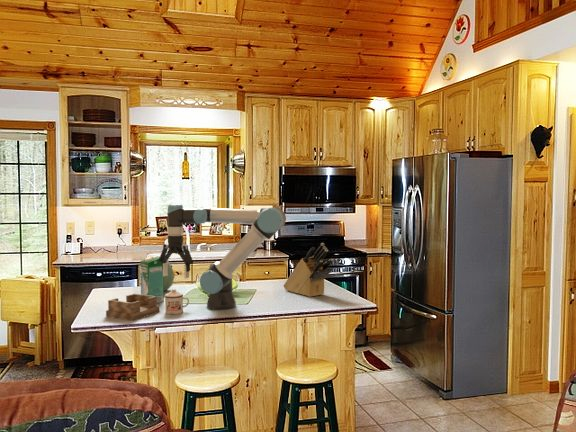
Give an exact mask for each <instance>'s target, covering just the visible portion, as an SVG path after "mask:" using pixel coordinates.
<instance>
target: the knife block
mask: <svg viewBox="0 0 576 432" xmlns="http://www.w3.org/2000/svg"><path fill="white" fill-rule="evenodd" d="M313 253H314V254H313ZM328 253H329V249H328V248H327V247H326V246H325V243H324V242H321V243H320V245H319V246H318V247H317V249H316V247H315V246H312V247H311V248H310V249H309V250H308V252H307V254H306V256H305V257H303V258H301V259H300V260H299V261H298V263H297V265H296V266H295V268H293V270H292V272H291V273H290V275H289V277H288V278H287V280H286V281H285V282H284V284H283V285H282V286H283V288H284V290H285V291H287V292H291V293H296V294H298V295H299V294H300V295H303V296H306V297H308V298H312V297H314V296H319V295H320V296H323V295H324V294H325V278H326V277H328V276H329V274H331V272H333V270H334V269H333V268H332V267H330V266H331V265H332V264H333V261H334V258H330V259H328V258H325V257H327V256H328ZM329 267H330V268H329Z"/></svg>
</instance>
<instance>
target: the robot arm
mask: <svg viewBox="0 0 576 432" xmlns="http://www.w3.org/2000/svg"><path fill="white" fill-rule="evenodd" d="M166 213H167V235H168V236H167V243H164V244H163V247H162V251H161V253H160V256H159V257H160V258H159V262H161V263H162V269H163V276H168V263H166V262H167V260H168V261H169V259H170V257H171V256H172V254H176V255H179V256H180V258H181V259H182V261H183V262H184V270H183V271H184V272H183V274H184V279H189V278H190V272H191V265H193V264H194V260H193V258H192V255H191V252H190V250H189V245H188V244H184V245H183V243H184V236H183V234H184V224H197V225H201V224H205V223H217V224H218V223H221V224H222V223H223V224H239V225H251V228H250V229H249V231H247V232H246V234H245V235H244V236H243V237H242V238H240V240H239V241H237V243H236V244H235V245H234V246H233V247H232V249H230V250H229V252H228V253H227V254H226V255H224V257H223V258H222V259H221V260H220V261H215V262H214V263H210V264H209V268H208V269H207V270H206V271H204V272H203V273H202V274H201V275H200V278H199V285H200V286H199V287H201V290H202V291H204V292H205V293H206V294H209V296H208V299H207V302H206V308H207V309H208V310H213V311H217V310H218V311H223V310H230V309H234V308H235V307H236V306H237V303H236V302H237V301H236V300H235V296H234V293H233V276H234V275H233V274H234V273H235V272H236V271H237V269H238V268H239V267H240V266H241V265H242V264H243V263H244V262H245V261H246V260H247V259H248V258H249V257H250V256H251V255H252V254H253V253H254V252H255V251H256V250H257V248H259V246H260V245H261V244H262V243H263V242H264V241H265V240H271V238H272V237H274V236H275V234H276V233H277V232H279V230H281V229H282V228H283V227H284V226H285V225H286V221H287V216H286V213H285V212H284V210H283V209H281V208H279V207H266V208H265V207H263V208H259V209H241V208H222V207H221V208H220V207H207V206H201V207H195V208H192V207H191V208H185V207H183V204H174V203H172V204H169V205H167V212H166Z"/></svg>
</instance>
